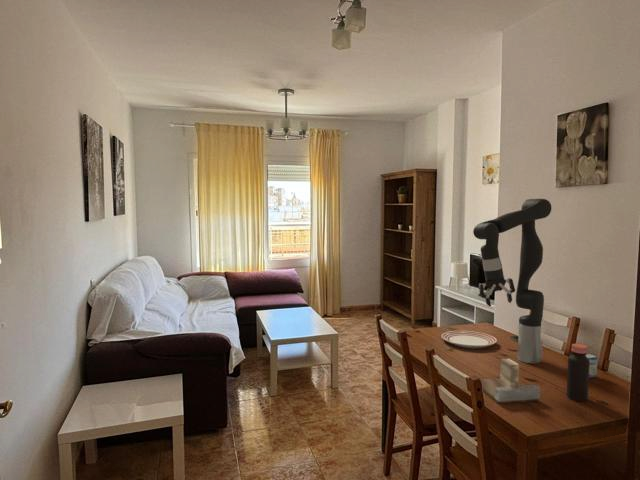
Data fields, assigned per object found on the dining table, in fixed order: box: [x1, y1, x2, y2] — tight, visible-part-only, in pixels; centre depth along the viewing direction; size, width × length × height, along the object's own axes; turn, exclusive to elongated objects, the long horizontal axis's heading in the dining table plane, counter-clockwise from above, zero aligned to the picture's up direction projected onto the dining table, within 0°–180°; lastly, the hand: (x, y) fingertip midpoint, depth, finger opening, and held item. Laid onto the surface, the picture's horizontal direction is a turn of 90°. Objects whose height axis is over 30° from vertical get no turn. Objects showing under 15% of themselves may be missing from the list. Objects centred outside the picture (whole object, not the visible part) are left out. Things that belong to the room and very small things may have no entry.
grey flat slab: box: [480, 377, 539, 405], centre depth 158 cm, size 16×18×1 cm
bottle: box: [565, 343, 590, 403], centre depth 152 cm, size 7×7×20 cm
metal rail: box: [494, 384, 541, 402], centre depth 149 cm, size 16×3×4 cm, turn 98°
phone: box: [509, 335, 518, 343], centre depth 218 cm, size 8×1×15 cm
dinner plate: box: [441, 330, 498, 349], centre depth 217 cm, size 28×27×3 cm
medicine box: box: [586, 353, 598, 379], centre depth 173 cm, size 8×4×9 cm, turn 107°
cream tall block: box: [499, 358, 520, 387], centre depth 154 cm, size 4×6×12 cm, turn 9°
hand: (499, 304), depth 179 cm, fingers open, 8 cm apart
